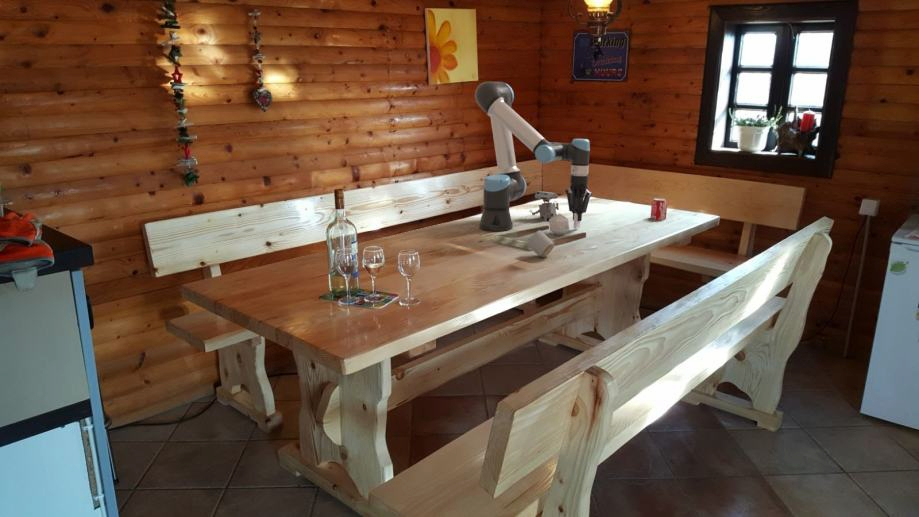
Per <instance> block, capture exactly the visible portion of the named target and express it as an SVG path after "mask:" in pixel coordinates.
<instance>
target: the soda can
mask: <svg viewBox="0 0 919 517" xmlns="http://www.w3.org/2000/svg"><path fill="white" fill-rule="evenodd" d="M650 207H651V208H650V209H651V210H650V219H651V220H654V221H665V220H667V211H668V202H667V199H666V198H659V197H656V198H655V197H654V198H653V200H652V202H651V206H650Z"/></svg>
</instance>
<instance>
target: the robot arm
mask: <svg viewBox="0 0 919 517" xmlns="http://www.w3.org/2000/svg"><path fill="white" fill-rule="evenodd" d="M474 98H475V102H476V104H477V105H478V106H479V108H481V110H482V111H484V112H485V113H486V115H487V116H488V117H490V124H491V131H492V135H493V144H494V151H495V157H496V158H495V159H496V165H497V171H496V172H495V173H494V174H492V175H491V174H490V175H488V176H486V177H485V178H484V181H483V188H482V189H483V210H482V214H481V217H480V220H479V223H478V224H479V226H478V227H479V228H478V229H481V230H483V231H492V232H493V231H494V232H503V231H509V230H512V229H513V227H514V223H513V221H512V217H511V213H510V202H512V201H516V200H518V199H520V198H522V197H523V196H524V194H525V192H526V190H527V182H526V180H525V178H524V177H523V176H522V174H521V169H520V168H518V166H517V161H516V154H515V147H514V139H513V135H514V136H515V137H516V138H517V139H518V140H519V141H520V142H521V143H522V144H524V145H525V146H526V147H527V148H528V149H529V150H530V151H531V152H532V153H533V154H534V157H535V160H536V161H537V162H538V163H542V164H548V163H552V162H557V161H569V162H571V163H570V165H571V166H570V174H571V175H570V183H569V184H570V186H569V187H568V189H565V191H564V192H565V194H566V197H567V203H568V204H567V206H568V211H569V212H571V213H572V221H573V229H576V230H578V229H580V228H581V222H582V219H583V218H582V217H583V214H586V212H587V209H588V205H589V202H590V198H591V196H592V195H593V192H592V191H590V190H588V184H589V176H588V175H589V167H590V166H589V165H590V164H589V163H590V151H591V148H590V144H591V143H590V140H589V139H588V138H573V139H572V142H570V143H567V142H555V141H553V142H550V141H548V140H547V139H546V138H545V137H543V135H542V134H540V133H539V132H538V131H537V130H536V129H535V128H534V127H533V126H532V125H531V124H530V123H528V122H527V121H526V120H525V119H524V118H523V117H521V116H520V114H518V113H517V112H516V111H515V110H514V109H513V107H512V104H513V102H514V98H515V95H514V90H513V89H512V87H511V86H510V85H509V84H508V83H506V82H503V81H484V82H481V83H480V84H479V85H478V86H477V87H476V89H475V91H474Z"/></svg>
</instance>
